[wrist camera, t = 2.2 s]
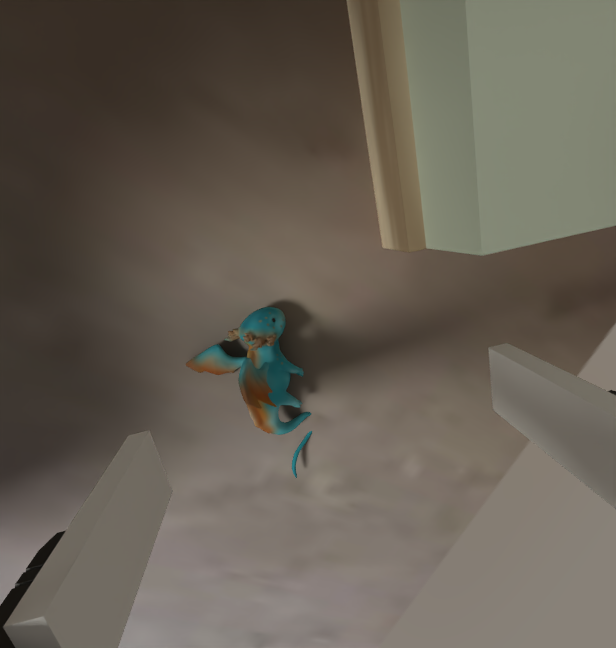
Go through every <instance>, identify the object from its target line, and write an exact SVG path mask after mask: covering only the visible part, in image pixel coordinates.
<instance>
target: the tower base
mask: <svg viewBox="0 0 616 648" xmlns="http://www.w3.org/2000/svg"><path fill="white" fill-rule="evenodd" d="M346 1H347V8H348V14H349V21H350V28H351V35H352V42H353V49H354V55H355V62H356V69H357V76H358V83H359V90H360V97H361V103H362V110H363V117H364V124H365V131H366V138H367V145H368V151H369V158H370V165H371V172H372V179H373V186H374V193H375V199H376V206H377V213H378V220H379V227H380V234H381V241H382V247H383V248H387V249H392V250H398V251H404V252H409V253H410V252H414V251H418V250H423V249H427V248H426V240H425V231H424V222H423V212H422V203H421V194H420V185H419V175H418V166H417V157H416V148H415V138H414V129H413V120H412V111H411V101H410V92H409V83H408V74H407V64H406V55H405V46H404V37H403V27H402V18H401V9H400V0H346Z"/></svg>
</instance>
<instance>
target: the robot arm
mask: <svg viewBox="0 0 616 648" xmlns="http://www.w3.org/2000/svg"><path fill="white" fill-rule="evenodd" d="M488 349H489V363H490V376H491V390H492V403H493V410H494V411H495V412H496V413H497V414H499V415H500V416H501V417H502V418H504V419H505V420H506V421H507V422H508V423H510V424H511V425H512V426H513V427H515V428H516V429H517V430H518V431H520V432H521V433H522V434H523V435H525V436H526V437H527V438H528V439H530V440H531V441H532V442H533V443H534V444H536V445H537V446H538V447H539V448H541V449H542V450H543V451H544V452H546V453H547V454H548V455H549V456H551V457H552V458H553V459H554V460H556V461H557V462H558V463H559V464H560V465H562V466H563V467H564V468H565V469H567V470H568V471H569V472H571V473H572V474H573V475H574V476H575V477H577V478H578V479H579V480H580V481H582V482H583V483H584V484H585V485H586V486H588V487H589V488H591V490H593V491H594V492H595V493H597V494H598V495H599V496H600V497H601V498H603V499H604V500H605V501H606V502H608V503H609V504H610V505H611V506H613V507H614V508H615V509H616V391H612V390H610V391H606V390H604V389H602V388H600V387H597V386H595V385H593V384H591V383H589V382H587V381H585V380H583V379H581V378H579V377H577V376H575V375H573V374H571V373H568V372H566V371H564V370H562V369H560V368H558V367H556V366H554V365H552V364H550V363H548V362H546V361H544V360H542V359H539V358H537V357H535V356H533V355H531V354H529V353H527V352H525V351H523V350H521V349H519V348H517V347H515V346H513V345H510V344H508V343H505V344H501V345H497V346H492V347H488ZM171 494H172V488H171V486H170V483H169V480H168V478H167V475H166V473H165V470H164V467H163V465H162V462H161V459H160V457H159V454H158V451H157V449H156V446H155V443H154V441H153V438H152V435H151V433H150V430H148V431H144V432H140V433H135V434H131V435H128V437H127V438H126V440H125V441H124V443H123V444H122V446H121V448H120V449H119V451H118V452H117V454H116V455H115V457H114V458H113V460H112V461H111V463H110V464H109V466H108V467H107V469H106V470H105V472H104V474H103V475H102V477H101V478H100V480H99V481H98V483H97V484H96V486H95V487H94V489H93V490H92V492H91V493H90V495H89V496H88V498H87V499H86V501H85V503H84V504H83V506H82V507H81V509H80V510H79V512H78V513H77V515H76V516H75V518H74V519H73V521H72V522H71V524H70V525H69V527H68V529H67V530H66V531H63V532H59V533H57V534H56V535H55V536H54V537H52V538H51V539H50V540H49V541H48V542H47V543H46V544H45V545H44V546H43V547H42V548H41V549H40V550H39V551H38V553H37V554H36V555H35V557H34V558H33V560H32V561H31V563H30V564H29V565H28V567H27V568H26V572H24V573H23V574H22V575H21V577H20V578H19V580H18V581H17V583H16V584H15V588H13V589H12V590H11V591H10V593H9V594H8V595H7V597H6V598H5V600H4V601H3V603H2V604H1V605H0V648H118V646H119V643H120V640H121V637H122V634H123V631H124V628H125V626H126V623H127V620H128V617H129V614H130V611H131V609H132V606H133V603H134V600H135V597H136V594H137V591H138V589H139V586H140V583H141V580H142V577H143V574H144V571H145V569H146V566H147V563H148V560H149V557H150V554H151V551H152V549H153V546H154V543H155V540H156V537H157V534H158V531H159V529H160V526H161V523H162V520H163V517H164V514H165V511H166V509H167V506H168V503H169V500H170V497H171Z"/></svg>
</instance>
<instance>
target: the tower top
mask: <svg viewBox="0 0 616 648" xmlns="http://www.w3.org/2000/svg"><path fill="white" fill-rule="evenodd" d="M400 9H401V18H402V27H403V37H404V46H405V55H406V64H407V74H408V83H409V92H410V101H411V111H412V120H413V129H414V138H415V148H416V157H417V166H418V175H419V185H420V194H421V203H422V212H423V222H424V231H425V240H426V248H429V249H436V250H444V251H451V252H458V253H466V254H473V255H481V256H483V255H487V254H492V253H496V252H501V251H505V250H509V249H514V248H518V247H523V246H527V245H532V244H536V243H541V242H545V241H550V240H554V239H558V238H563V237H567V236H572V235H576V234H581V233H585V232H590V231H594V230H598V229H603V228H607V227H612V226H616V0H400Z"/></svg>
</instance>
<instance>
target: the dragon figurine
mask: <svg viewBox="0 0 616 648" xmlns="http://www.w3.org/2000/svg"><path fill="white" fill-rule="evenodd" d="M285 325H286V319H285V316H284V313H283V312H282V311H281V310H280V309H278V308H274V307H265V308H261V309H259V310H257V311H255V312H253V313H252V314H250V315H249V316H248V317H247V318H246V319H245V320H244V321H243V323H242V324H241V326H240V327H239V328H238V329H233V331H228V333H229V334H228V337H229V338H226V339H224V340H227V341H234V340H236V339H240V338H241V339H242V340H243V341H244V342H245V343H246V344H247V345H248V346H249V350H248V353H247V357H232V356H229V355H228V354H226V353H225V352H224V350H223V349H222V347H221V346H220V345H218V344H217V345H214V346H212V347H210V348H208V349H207V350H205V351H204V352H202V353H201V354H199V355H198V356H196V357H194V358H193V359H192V360H190V361H189V362H187V363H186V366H188V367H190V368H191V369H193V370H195V371H197V372H199V373H201V372H203V371H207V372H210V373H213V374H216V375H221V374H224V373H229V372H232V373H234V371H235V370H236V369H238V368H240V367H241V369H240V374H239V386H240V390H241V393H242V396H243V399H244V401H245V402H246V404H247V407H248V410H249V413H250V416H251V418H252V419H253V421H254V424H255V426H256V427H258V428H261V429H262V430H263V431H265V432H267V433H272V434H278V435H281V434H285V433H288V432H291V431H292V430H294V429H295V428H296V427H297V426H298V425H299V424H300V423H301V422H302V421H303V420H304V419H305V418H306V417H308V416H310V415H311V413H310V412H304V413H302V414H300V415H299V416H297V417H296V418H294V419H293V420H291V421H289V422H286V423H284V422H281V421H280V420H279V417H278V409H279V406H281V405H292V406H294V407H299V408H300V405H301V404H303V403H302V402H301V401H299V400H297V399H296V398H295V397H294V396H292V395H290V394H289V393H288V392H287V391H286V390H287V388H288V386H289V383H290V373H296V374H298V375H300V376H302V377H303V374H304V372H303V371H302V370H303V369H302V368H298V367H297V366H295V365H293V364H292V363H291V362H289V361H287V359H286V358H285V356H284V355H283V354H282V353H281V351H280V348H279V341H278V338H279V337H280V336H281V335H282V333H283V331H284V328H285ZM311 434H312V431H310V432H309V433H308V434H307V435H306V437H305V438H304V440H303V441H302V442H301V444H300V445H299V447H298V448H297V450H296V452H295V454H294V457H293V461H292V470H293V473H294V475H295V477H296V478H297V474H296V461H297V457H298V454H299V452H300V450H301V449H302V447H303V446H304V445H305V443H306V442H307V440H308V439H309V437H310V435H311Z"/></svg>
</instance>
